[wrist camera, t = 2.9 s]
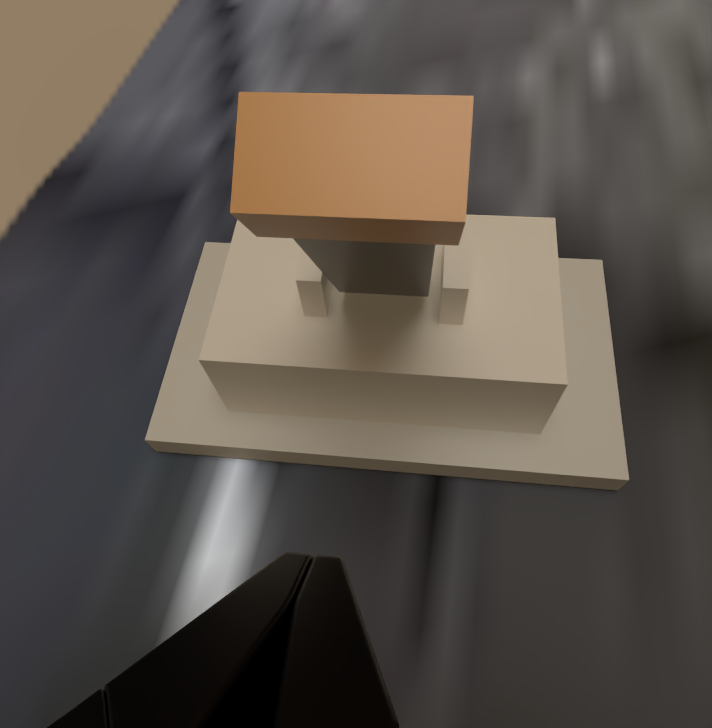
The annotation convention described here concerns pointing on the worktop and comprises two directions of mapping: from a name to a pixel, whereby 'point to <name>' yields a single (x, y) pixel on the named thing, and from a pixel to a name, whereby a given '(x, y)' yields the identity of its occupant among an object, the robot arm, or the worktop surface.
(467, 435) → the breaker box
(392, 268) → the lever
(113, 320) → the worktop surface
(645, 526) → the worktop surface
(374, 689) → the robot arm
